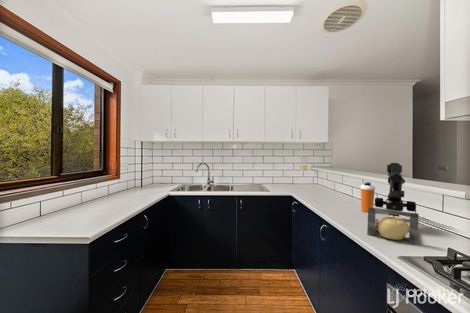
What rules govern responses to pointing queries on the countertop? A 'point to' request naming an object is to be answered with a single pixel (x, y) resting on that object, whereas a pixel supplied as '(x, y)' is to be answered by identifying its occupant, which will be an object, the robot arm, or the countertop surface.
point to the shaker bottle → (367, 196)
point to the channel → (413, 216)
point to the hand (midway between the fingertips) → (393, 217)
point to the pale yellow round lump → (393, 227)
